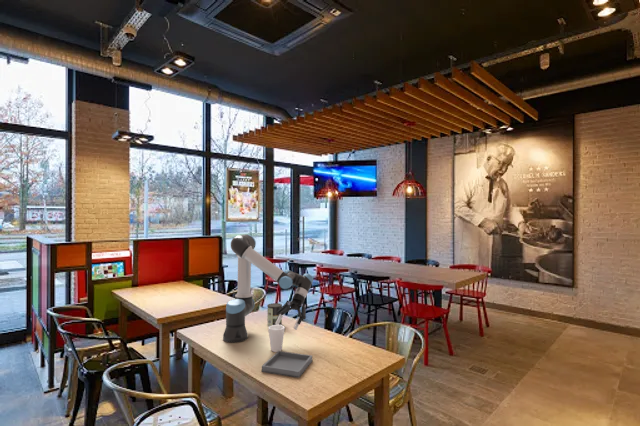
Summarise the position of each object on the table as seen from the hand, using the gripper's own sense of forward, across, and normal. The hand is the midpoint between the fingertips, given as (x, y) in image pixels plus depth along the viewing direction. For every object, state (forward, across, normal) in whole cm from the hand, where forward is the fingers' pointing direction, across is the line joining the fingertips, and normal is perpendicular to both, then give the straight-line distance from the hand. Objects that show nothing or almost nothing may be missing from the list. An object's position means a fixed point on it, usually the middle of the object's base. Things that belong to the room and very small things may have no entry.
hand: (285, 326), depth 208 cm
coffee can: (-11, +30, -28) cm, 42 cm away
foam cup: (+13, +1, -3) cm, 14 cm away
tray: (+23, -17, +7) cm, 30 cm away
